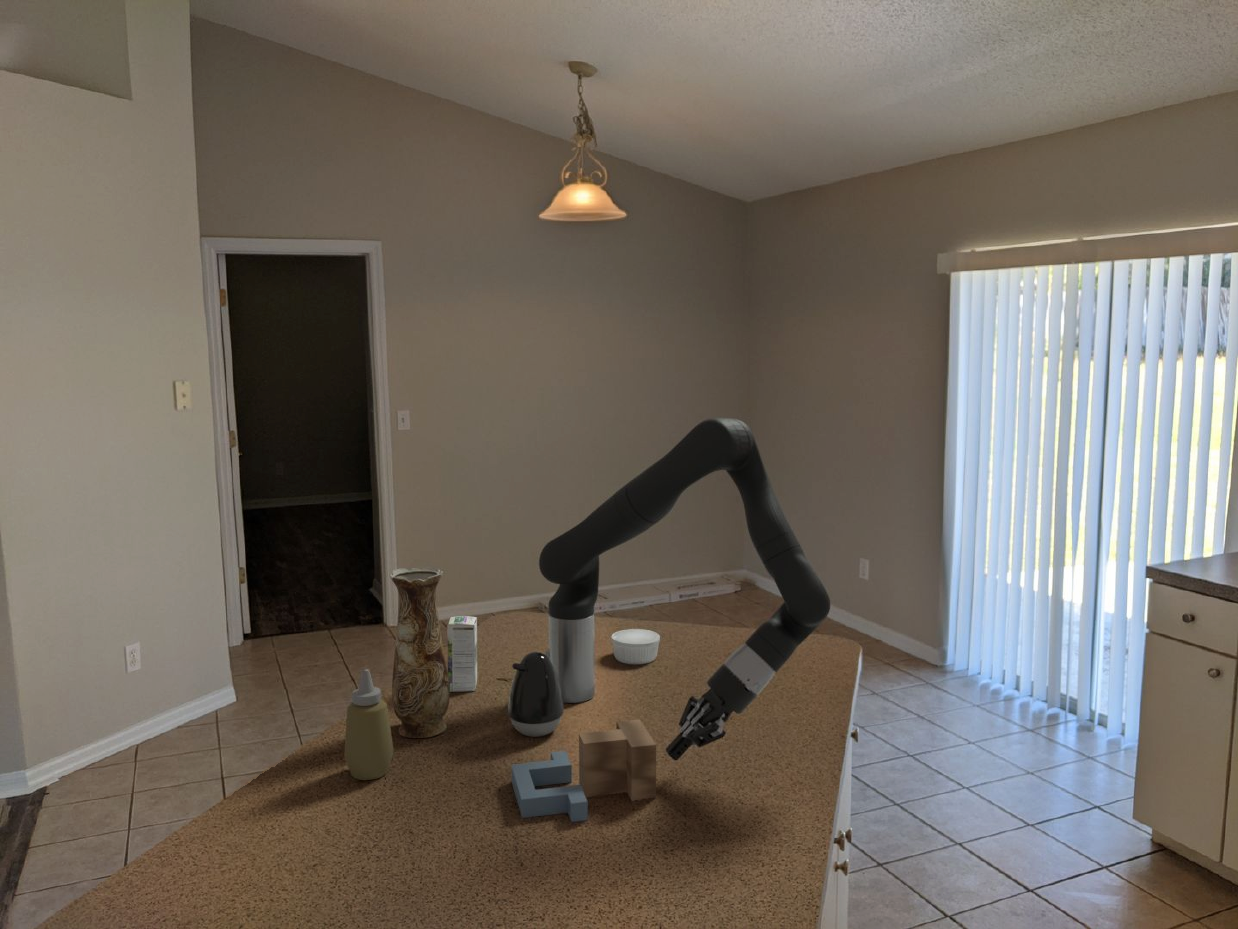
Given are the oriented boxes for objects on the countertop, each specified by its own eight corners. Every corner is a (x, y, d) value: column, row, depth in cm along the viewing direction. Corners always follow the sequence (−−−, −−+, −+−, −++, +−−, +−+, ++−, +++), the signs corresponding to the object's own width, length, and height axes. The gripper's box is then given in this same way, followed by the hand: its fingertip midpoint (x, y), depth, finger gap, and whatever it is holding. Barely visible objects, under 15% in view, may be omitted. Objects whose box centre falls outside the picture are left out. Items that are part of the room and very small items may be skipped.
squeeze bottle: (403, 766, 159) (400, 665, 156) (376, 788, 151) (372, 682, 149) (363, 759, 161) (359, 659, 159) (334, 780, 154) (329, 676, 151)
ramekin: (614, 649, 219) (614, 627, 218) (662, 651, 217) (662, 629, 216) (607, 665, 208) (607, 642, 207) (657, 668, 206) (657, 645, 205)
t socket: (565, 767, 158) (565, 750, 158) (587, 820, 141) (587, 801, 141) (509, 773, 156) (508, 756, 156) (524, 828, 139) (524, 809, 138)
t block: (639, 770, 157) (639, 719, 156) (655, 798, 148) (656, 744, 147) (575, 777, 155) (575, 726, 154) (588, 806, 145) (588, 752, 144)
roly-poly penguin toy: (496, 732, 173) (494, 653, 170) (538, 715, 180) (537, 639, 178) (533, 748, 166) (532, 666, 164) (575, 730, 173) (574, 651, 171)
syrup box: (450, 682, 197) (448, 616, 195) (478, 681, 198) (477, 615, 196) (447, 692, 192) (445, 624, 190) (476, 691, 192) (475, 623, 190)
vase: (399, 744, 167) (393, 582, 163) (388, 722, 177) (383, 568, 173) (456, 734, 171) (452, 576, 167) (443, 713, 181) (438, 563, 177)
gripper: (713, 650, 160) (643, 726, 158) (741, 678, 147) (666, 760, 146) (741, 677, 162) (673, 752, 160) (771, 707, 149) (698, 788, 148)
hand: (670, 755), depth 153 cm, fingers closed
